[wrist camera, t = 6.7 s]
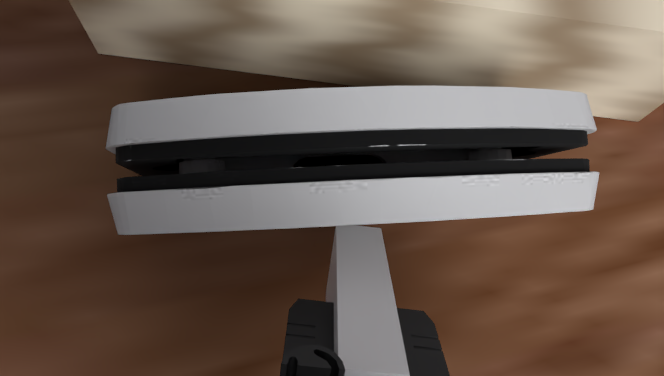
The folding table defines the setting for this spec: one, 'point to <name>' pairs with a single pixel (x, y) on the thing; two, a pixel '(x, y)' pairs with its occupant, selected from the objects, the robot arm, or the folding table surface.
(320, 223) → the white black rounded case
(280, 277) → the folding table surface
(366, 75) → the bench stop
